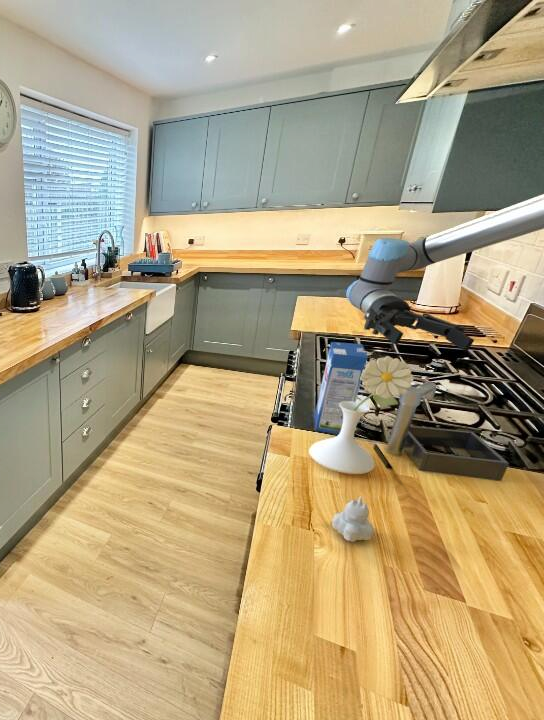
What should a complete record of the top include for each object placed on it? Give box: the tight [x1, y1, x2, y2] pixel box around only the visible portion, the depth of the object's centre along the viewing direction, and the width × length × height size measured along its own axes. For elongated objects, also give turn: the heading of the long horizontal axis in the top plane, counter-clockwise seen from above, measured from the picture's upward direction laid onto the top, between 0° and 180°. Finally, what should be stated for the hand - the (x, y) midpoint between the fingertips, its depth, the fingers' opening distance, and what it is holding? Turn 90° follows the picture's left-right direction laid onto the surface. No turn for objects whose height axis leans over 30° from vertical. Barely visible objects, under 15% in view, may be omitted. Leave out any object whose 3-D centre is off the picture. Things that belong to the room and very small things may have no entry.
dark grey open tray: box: [402, 425, 510, 482], centre depth 86 cm, size 12×12×6 cm
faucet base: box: [373, 402, 418, 469], centre depth 87 cm, size 4×8×13 cm, turn 159°
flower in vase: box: [308, 355, 414, 475], centre depth 84 cm, size 13×11×25 cm
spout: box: [398, 381, 437, 407], centre depth 86 cm, size 11×3×4 cm, turn 119°
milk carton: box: [314, 341, 369, 435], centre depth 101 cm, size 10×6×20 cm, turn 149°
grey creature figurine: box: [331, 495, 374, 543], centre depth 69 cm, size 5×7×8 cm
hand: (433, 342), depth 92 cm, fingers open, 13 cm apart
